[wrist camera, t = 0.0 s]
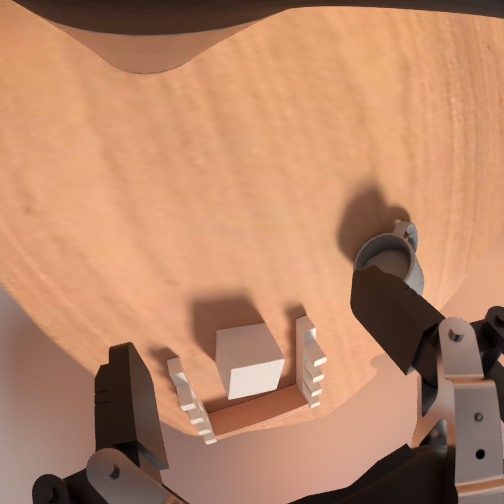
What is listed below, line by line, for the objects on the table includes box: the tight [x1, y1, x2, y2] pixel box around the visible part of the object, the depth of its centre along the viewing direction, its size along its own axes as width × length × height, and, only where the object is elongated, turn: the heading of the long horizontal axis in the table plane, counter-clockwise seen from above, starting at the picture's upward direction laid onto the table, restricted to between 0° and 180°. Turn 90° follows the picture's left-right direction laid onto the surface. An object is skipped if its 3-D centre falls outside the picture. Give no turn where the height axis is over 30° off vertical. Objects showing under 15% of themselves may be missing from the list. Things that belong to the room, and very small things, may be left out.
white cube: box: [215, 323, 285, 400], centre depth 34 cm, size 6×6×6 cm
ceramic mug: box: [353, 221, 424, 295], centre depth 34 cm, size 11×8×8 cm
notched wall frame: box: [167, 315, 326, 444], centre depth 39 cm, size 18×18×5 cm
